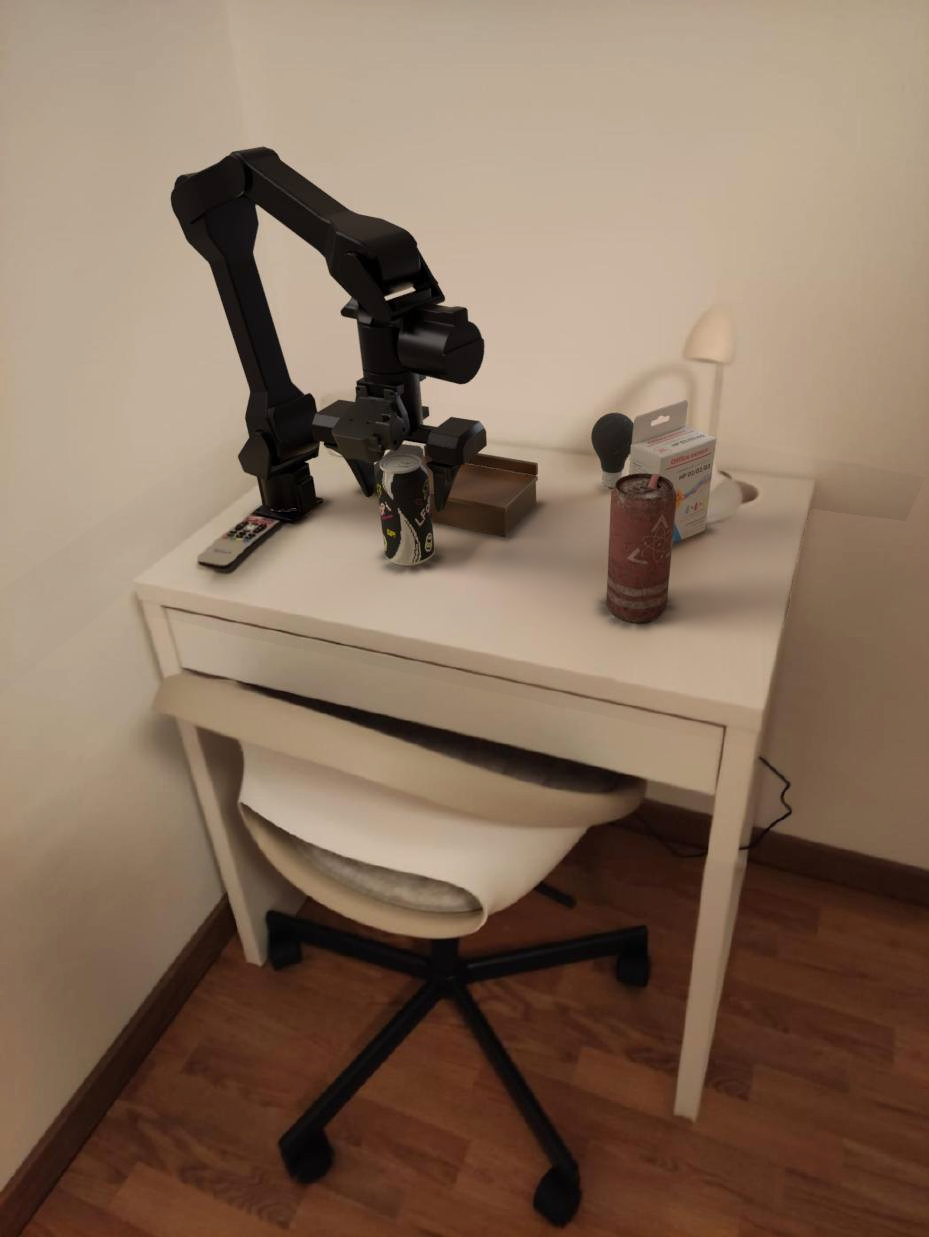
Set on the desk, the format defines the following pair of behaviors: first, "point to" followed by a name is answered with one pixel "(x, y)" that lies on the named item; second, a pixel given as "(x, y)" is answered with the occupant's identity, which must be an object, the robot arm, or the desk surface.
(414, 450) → the usb drive
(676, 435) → the ink box
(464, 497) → the step shelf
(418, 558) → the beverage can
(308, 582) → the desk surface
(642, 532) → the can
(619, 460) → the light bulb
